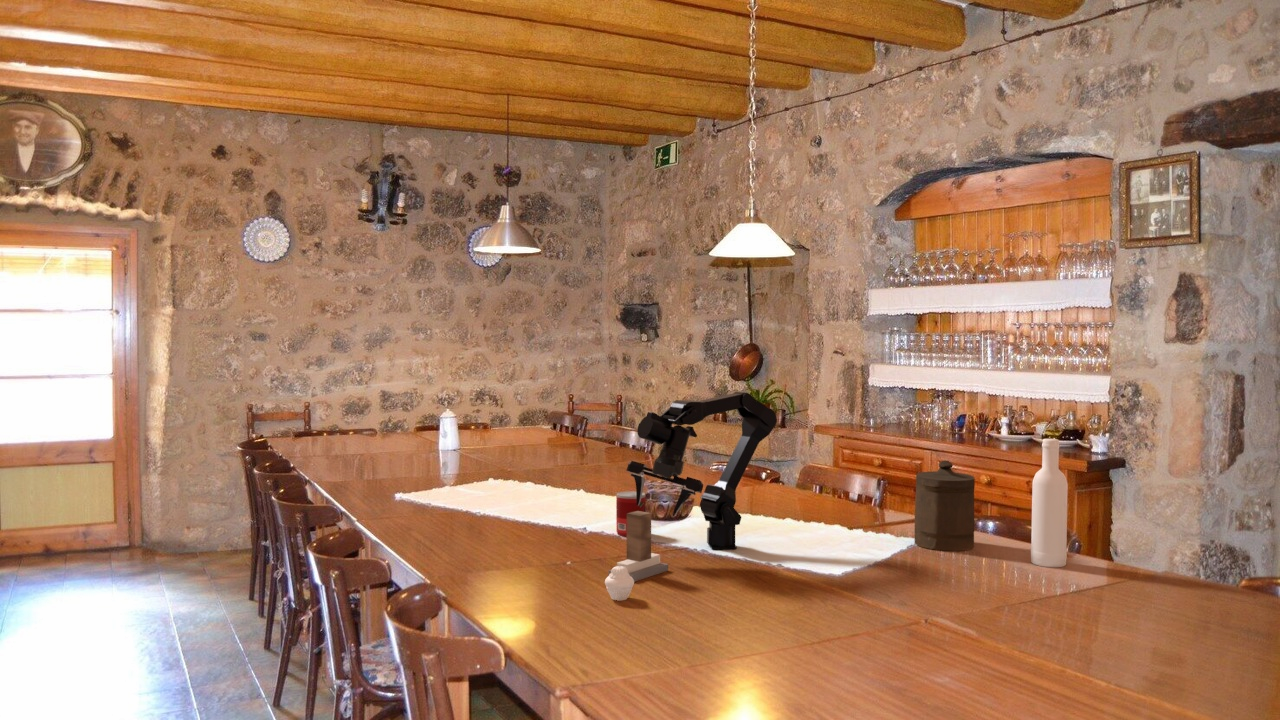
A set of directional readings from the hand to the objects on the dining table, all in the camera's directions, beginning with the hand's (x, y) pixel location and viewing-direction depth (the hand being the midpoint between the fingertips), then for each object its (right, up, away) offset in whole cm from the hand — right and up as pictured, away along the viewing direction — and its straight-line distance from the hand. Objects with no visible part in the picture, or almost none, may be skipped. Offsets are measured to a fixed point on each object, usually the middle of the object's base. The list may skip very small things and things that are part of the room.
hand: (655, 511), depth 234 cm
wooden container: (+75, -11, +15) cm, 78 cm away
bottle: (+94, -12, -4) cm, 95 cm away
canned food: (-6, -11, +27) cm, 30 cm away
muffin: (-8, -13, -34) cm, 37 cm away
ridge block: (-4, -12, -14) cm, 19 cm away
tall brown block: (-4, -9, -14) cm, 17 cm away
